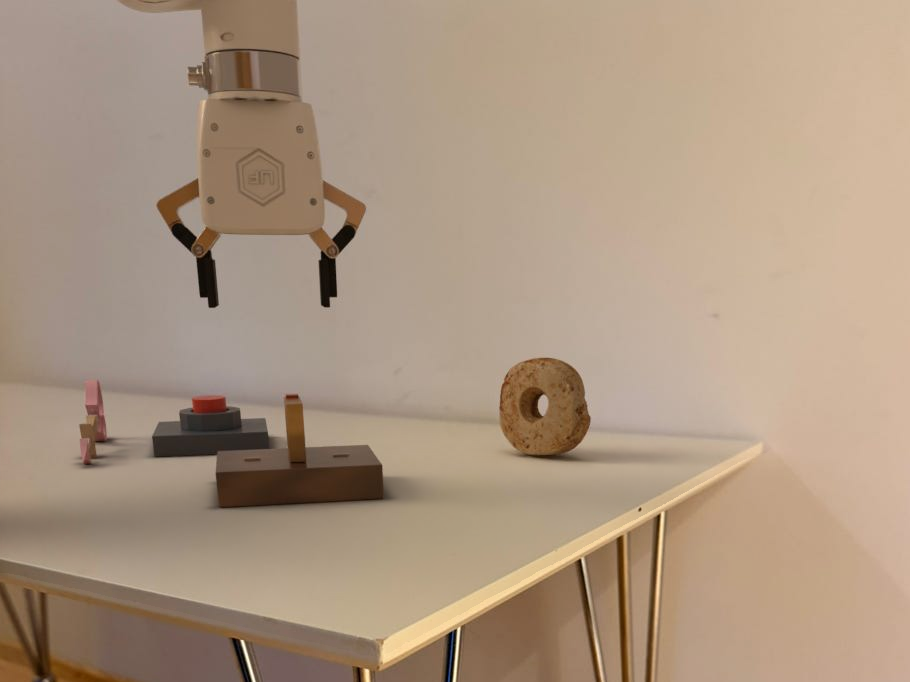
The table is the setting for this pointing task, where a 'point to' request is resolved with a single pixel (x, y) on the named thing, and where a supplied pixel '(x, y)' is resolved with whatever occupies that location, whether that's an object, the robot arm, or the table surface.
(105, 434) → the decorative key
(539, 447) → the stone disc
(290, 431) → the thumbturn
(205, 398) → the button
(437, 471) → the table surface
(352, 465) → the plate
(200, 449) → the confirm box
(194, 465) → the table surface
